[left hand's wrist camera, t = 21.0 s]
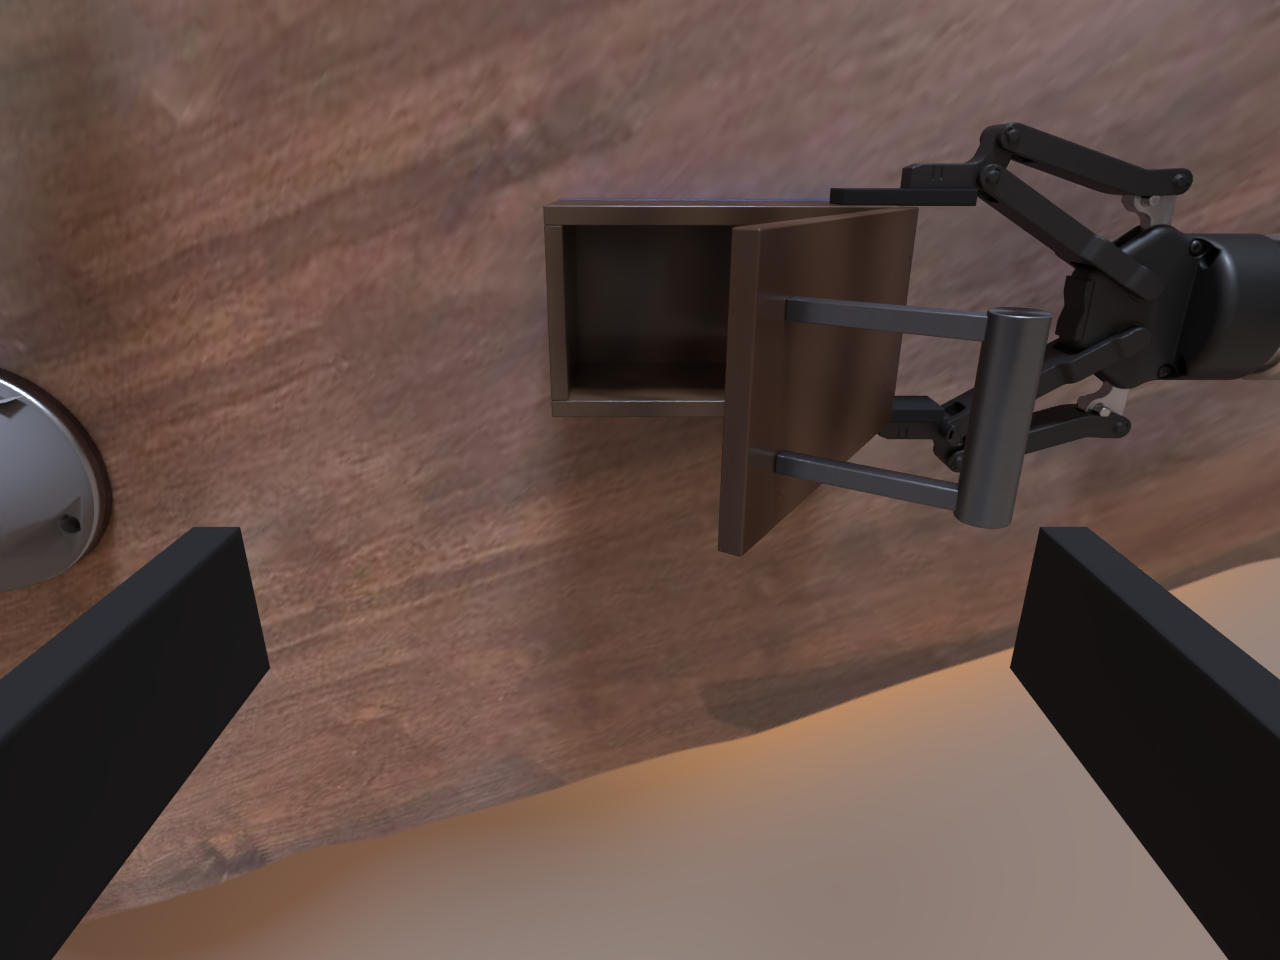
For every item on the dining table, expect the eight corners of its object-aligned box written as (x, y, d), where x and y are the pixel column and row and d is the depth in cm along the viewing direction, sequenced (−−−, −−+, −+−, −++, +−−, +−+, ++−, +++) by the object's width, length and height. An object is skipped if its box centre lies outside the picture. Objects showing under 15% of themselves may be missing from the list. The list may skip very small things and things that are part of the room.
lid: (716, 551, 26) (982, 624, 22) (731, 227, 22) (1057, 240, 18) (874, 418, 40) (1053, 447, 36) (899, 206, 36) (1104, 211, 32)
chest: (566, 373, 48) (551, 417, 40) (560, 199, 45) (542, 205, 36) (835, 373, 49) (879, 417, 40) (853, 199, 45) (906, 206, 36)
